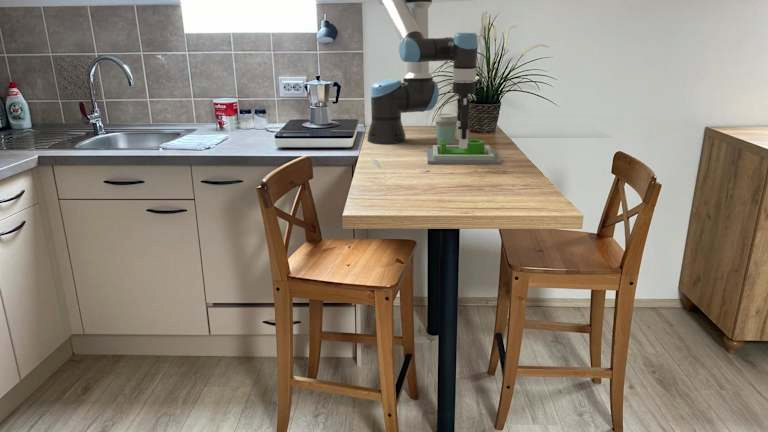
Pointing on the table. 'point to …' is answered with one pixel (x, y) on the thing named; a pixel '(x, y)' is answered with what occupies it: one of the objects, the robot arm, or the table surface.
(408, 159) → the table surface
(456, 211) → the table surface
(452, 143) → the coffee cup
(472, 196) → the table surface
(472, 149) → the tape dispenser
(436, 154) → the slot board
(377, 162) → the butter knife
